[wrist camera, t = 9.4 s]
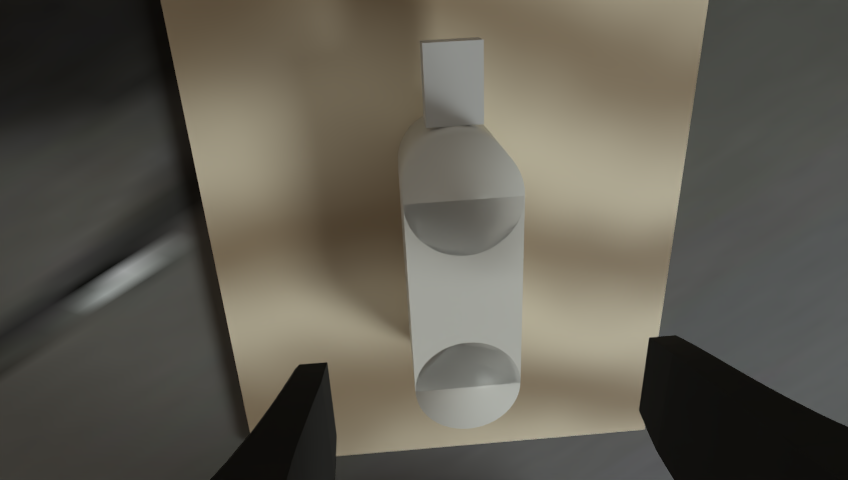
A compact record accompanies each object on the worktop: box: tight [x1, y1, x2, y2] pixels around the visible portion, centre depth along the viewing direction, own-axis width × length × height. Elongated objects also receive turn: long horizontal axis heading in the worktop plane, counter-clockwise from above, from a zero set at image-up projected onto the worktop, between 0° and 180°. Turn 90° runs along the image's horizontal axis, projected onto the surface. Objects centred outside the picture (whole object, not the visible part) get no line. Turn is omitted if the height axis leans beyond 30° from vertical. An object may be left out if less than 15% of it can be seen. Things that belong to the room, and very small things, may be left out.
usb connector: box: [398, 37, 525, 429], centre depth 17 cm, size 11×3×4 cm, turn 3°
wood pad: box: [161, 0, 709, 456], centre depth 20 cm, size 18×16×1 cm
